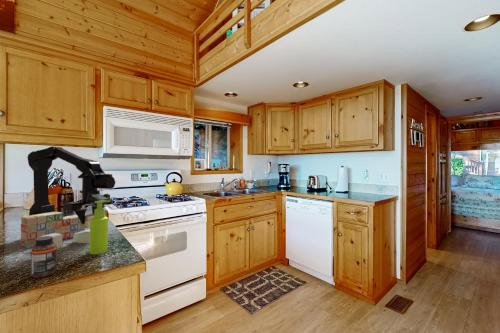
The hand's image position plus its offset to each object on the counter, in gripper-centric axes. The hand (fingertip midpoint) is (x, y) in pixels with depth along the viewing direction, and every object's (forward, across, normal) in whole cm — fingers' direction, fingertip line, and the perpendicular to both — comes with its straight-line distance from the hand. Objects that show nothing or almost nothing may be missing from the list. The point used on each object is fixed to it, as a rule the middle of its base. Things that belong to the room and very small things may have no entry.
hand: (89, 222), depth 104 cm
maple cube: (+2, 0, 0) cm, 2 cm away
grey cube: (+8, -12, +5) cm, 15 cm away
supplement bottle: (+8, -28, -19) cm, 35 cm away
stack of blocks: (+8, -5, +14) cm, 17 cm away
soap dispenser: (+8, -8, -17) cm, 21 cm away
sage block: (+8, 0, 0) cm, 8 cm away
